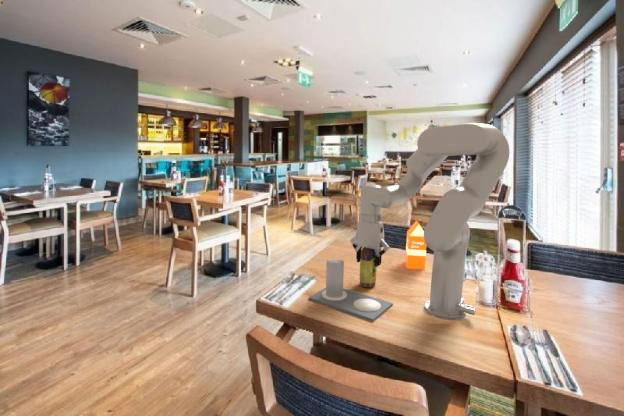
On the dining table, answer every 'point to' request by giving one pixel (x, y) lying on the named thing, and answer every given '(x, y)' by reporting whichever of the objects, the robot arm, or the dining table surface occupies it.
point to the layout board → (348, 295)
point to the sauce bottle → (367, 267)
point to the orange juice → (415, 247)
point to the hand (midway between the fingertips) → (368, 263)
